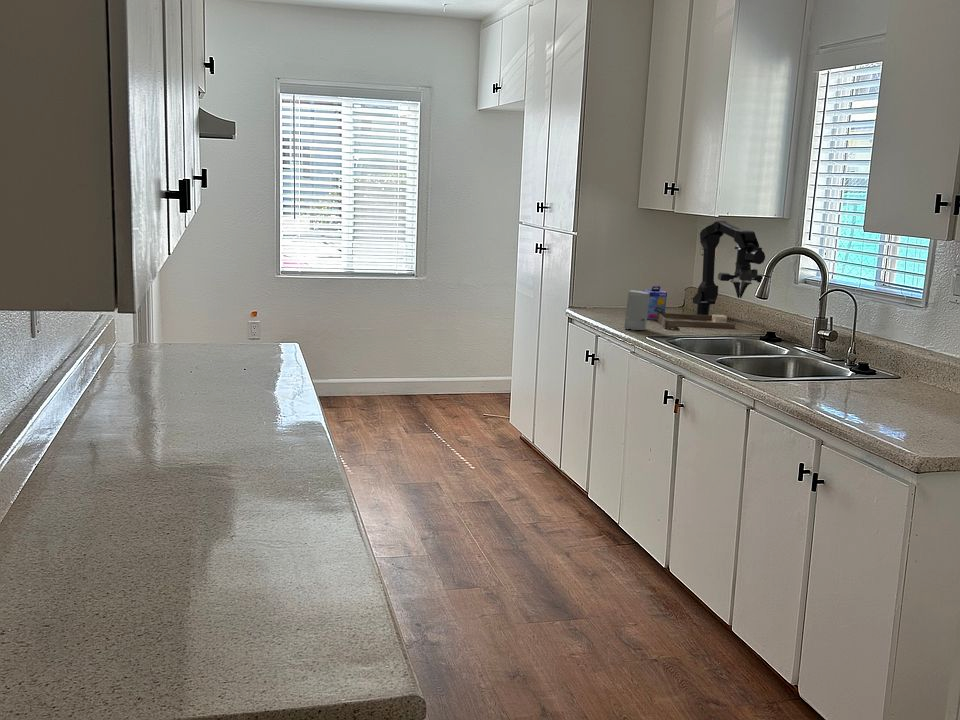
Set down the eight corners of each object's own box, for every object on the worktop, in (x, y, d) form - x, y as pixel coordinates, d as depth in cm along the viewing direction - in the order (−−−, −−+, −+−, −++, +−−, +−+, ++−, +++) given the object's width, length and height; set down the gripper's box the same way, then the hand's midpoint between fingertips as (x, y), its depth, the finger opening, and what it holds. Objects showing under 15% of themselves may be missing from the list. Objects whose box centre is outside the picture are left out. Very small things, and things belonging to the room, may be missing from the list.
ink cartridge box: (643, 319, 408) (646, 286, 405) (639, 317, 414) (642, 284, 410) (665, 319, 410) (668, 286, 407) (660, 317, 416) (663, 284, 412)
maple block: (711, 322, 400) (712, 314, 399) (723, 323, 400) (724, 315, 399) (714, 324, 395) (715, 316, 394) (726, 325, 395) (727, 317, 394)
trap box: (657, 320, 406) (657, 312, 405) (723, 323, 406) (724, 315, 406) (665, 328, 389) (665, 320, 388) (734, 331, 389) (735, 323, 388)
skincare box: (623, 329, 382) (627, 291, 379) (626, 326, 389) (629, 289, 386) (644, 331, 380) (648, 293, 377) (646, 328, 387) (650, 290, 383)
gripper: (726, 262, 383) (722, 300, 387) (771, 264, 384) (767, 302, 387) (719, 259, 394) (715, 295, 398) (763, 261, 394) (759, 297, 398)
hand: (739, 297), depth 395 cm, fingers closed
